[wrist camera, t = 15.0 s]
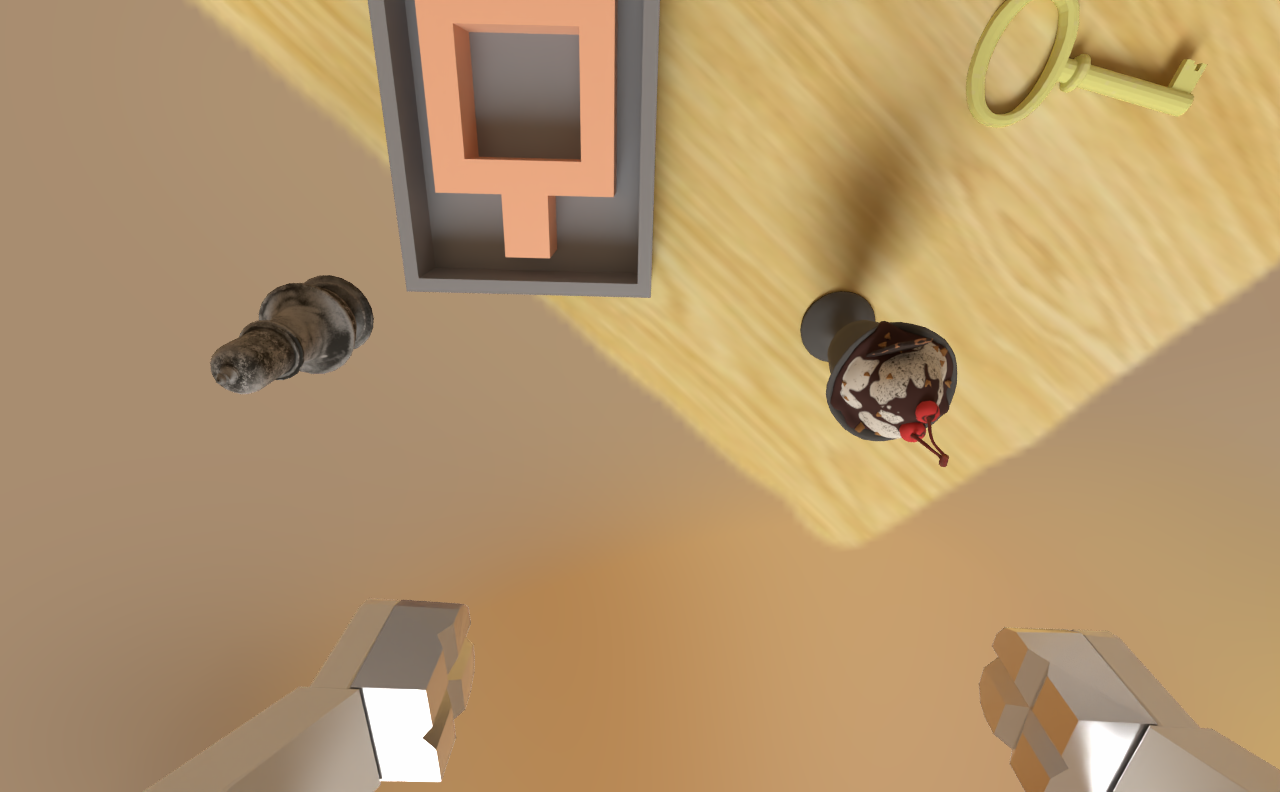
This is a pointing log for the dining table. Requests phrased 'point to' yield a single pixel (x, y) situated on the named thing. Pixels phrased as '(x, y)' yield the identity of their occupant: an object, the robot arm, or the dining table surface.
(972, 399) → the dining table surface
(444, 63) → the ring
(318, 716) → the robot arm
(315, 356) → the salt shaker
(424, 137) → the tray
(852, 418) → the sundae
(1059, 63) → the key
